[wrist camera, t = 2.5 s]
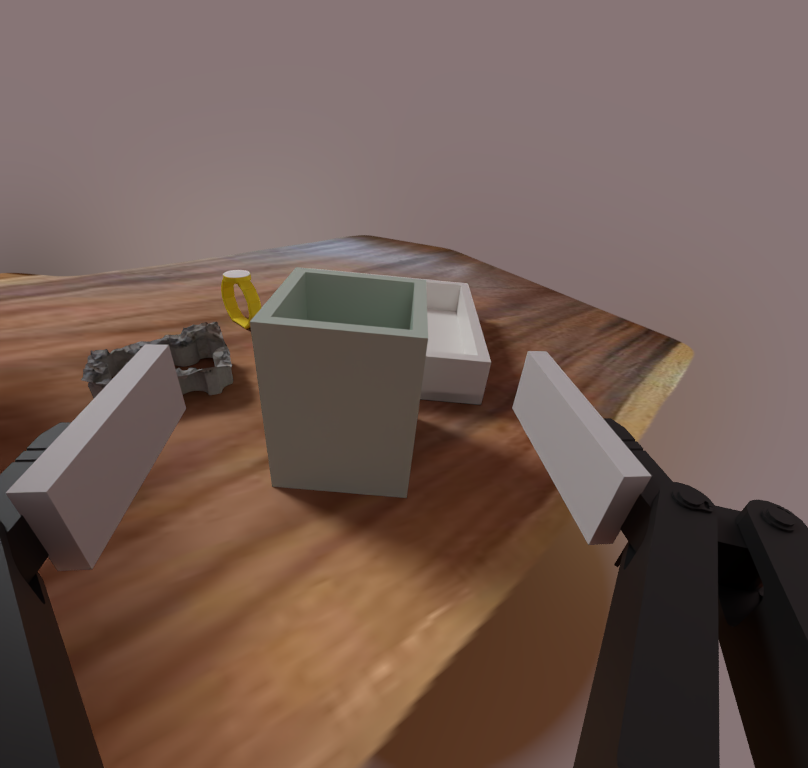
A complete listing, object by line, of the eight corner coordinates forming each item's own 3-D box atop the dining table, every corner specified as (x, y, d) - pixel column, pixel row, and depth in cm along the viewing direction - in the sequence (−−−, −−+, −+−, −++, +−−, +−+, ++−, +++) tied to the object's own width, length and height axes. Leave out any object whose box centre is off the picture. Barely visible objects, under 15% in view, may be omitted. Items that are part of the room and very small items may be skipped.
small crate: (272, 486, 27) (249, 321, 20) (304, 406, 34) (296, 267, 28) (406, 498, 27) (428, 338, 20) (409, 416, 34) (426, 279, 28)
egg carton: (229, 356, 40) (223, 319, 38) (238, 397, 35) (231, 356, 33) (102, 372, 36) (87, 331, 34) (89, 422, 30) (69, 377, 28)
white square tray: (261, 384, 36) (256, 340, 34) (312, 301, 53) (310, 268, 50) (481, 404, 36) (491, 362, 34) (461, 316, 53) (467, 283, 51)
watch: (220, 320, 47) (209, 269, 44) (242, 314, 49) (233, 265, 46) (248, 335, 43) (238, 281, 40) (270, 328, 45) (262, 276, 42)
